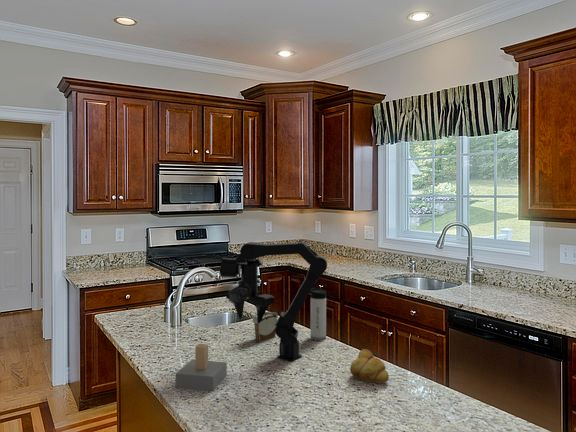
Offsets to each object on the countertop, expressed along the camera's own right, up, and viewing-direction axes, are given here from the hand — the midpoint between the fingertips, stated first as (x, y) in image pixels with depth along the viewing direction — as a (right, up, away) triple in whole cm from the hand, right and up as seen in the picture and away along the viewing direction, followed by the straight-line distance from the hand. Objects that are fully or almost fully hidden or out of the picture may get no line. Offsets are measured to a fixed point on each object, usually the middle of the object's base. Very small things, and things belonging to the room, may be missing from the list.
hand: (249, 320), depth 169 cm
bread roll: (+40, -14, -20) cm, 47 cm away
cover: (-13, -14, -22) cm, 29 cm away
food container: (+3, -12, +21) cm, 24 cm away
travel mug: (+26, -12, +22) cm, 36 cm away
